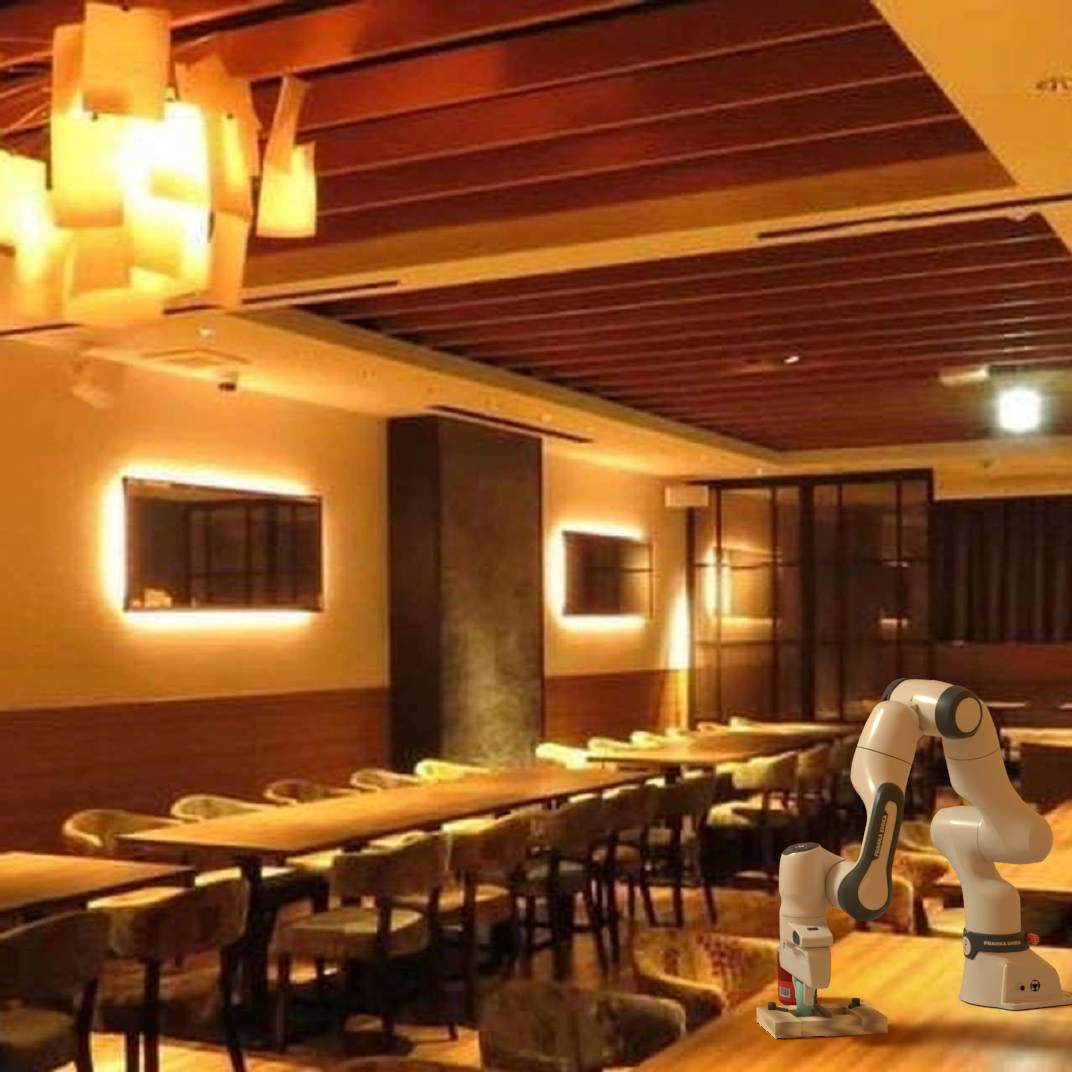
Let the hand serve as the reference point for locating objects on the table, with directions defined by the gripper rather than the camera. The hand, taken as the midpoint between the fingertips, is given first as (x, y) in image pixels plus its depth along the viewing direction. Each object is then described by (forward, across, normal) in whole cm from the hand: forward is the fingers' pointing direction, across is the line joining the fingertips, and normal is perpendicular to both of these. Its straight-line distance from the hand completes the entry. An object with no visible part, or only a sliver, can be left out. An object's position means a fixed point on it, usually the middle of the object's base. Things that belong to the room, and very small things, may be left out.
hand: (804, 1002), depth 299 cm
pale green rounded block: (+3, 0, 0) cm, 3 cm away
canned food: (+5, -21, +5) cm, 22 cm away
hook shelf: (+5, 0, +3) cm, 6 cm away
